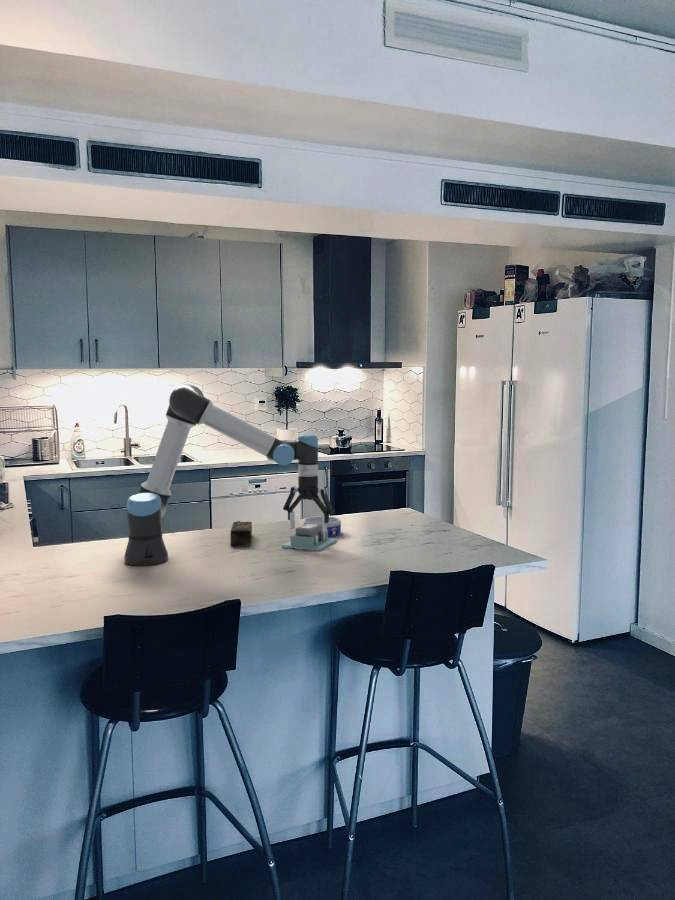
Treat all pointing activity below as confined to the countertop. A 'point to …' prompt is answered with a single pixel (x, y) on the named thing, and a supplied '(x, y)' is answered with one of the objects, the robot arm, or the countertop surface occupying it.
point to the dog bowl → (332, 526)
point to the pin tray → (309, 542)
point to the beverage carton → (241, 533)
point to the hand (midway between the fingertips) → (308, 530)
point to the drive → (310, 531)
